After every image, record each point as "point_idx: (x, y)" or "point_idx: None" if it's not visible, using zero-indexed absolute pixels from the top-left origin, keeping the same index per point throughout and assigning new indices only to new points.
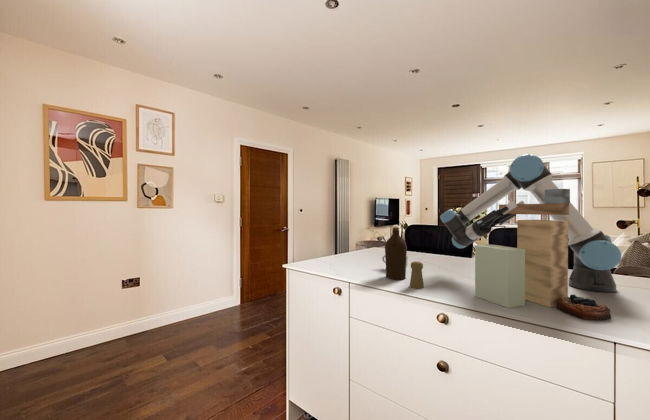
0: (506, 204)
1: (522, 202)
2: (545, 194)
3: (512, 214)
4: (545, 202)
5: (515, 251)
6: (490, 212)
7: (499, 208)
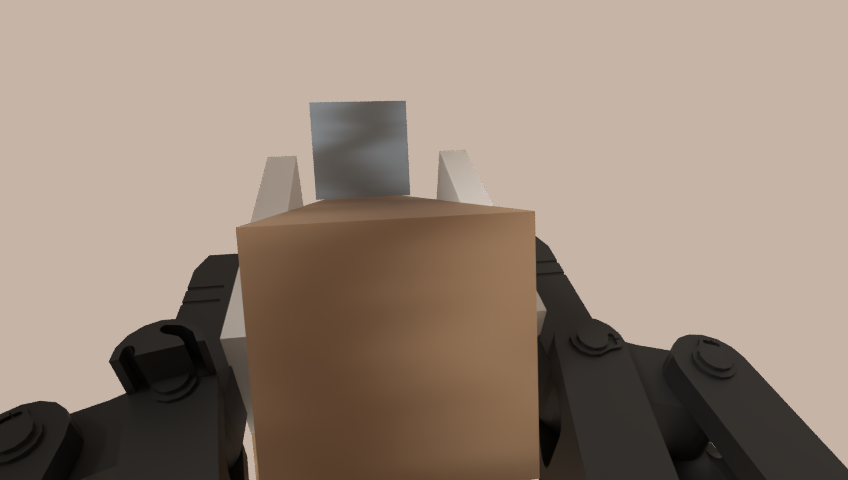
0: (473, 204)
1: (297, 182)
2: (406, 134)
3: (241, 449)
4: (409, 187)
5: None
6: (810, 434)
7: (531, 319)
